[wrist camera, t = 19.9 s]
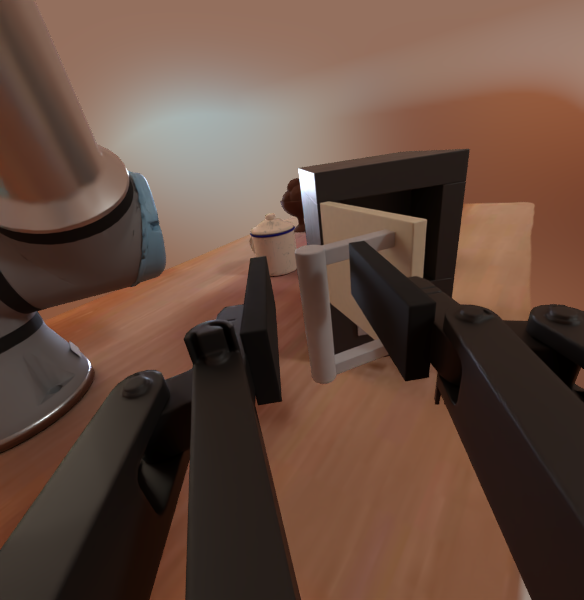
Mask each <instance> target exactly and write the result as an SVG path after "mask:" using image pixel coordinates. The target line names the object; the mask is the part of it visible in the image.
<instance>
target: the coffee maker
mask: <svg viewBox="0 0 584 600" xmlns="http://www.w3.org/2000/svg"><path fill="white" fill-rule="evenodd" d="M468 158H469V149H455V150H432V151H410V152H398V153H392V154H386V155H379V156H373V157H366V158H361V159H353V160H347V161H341V162H334V163H328V164H322V165H315V166H309V167H302V168H298V170H299V179H300V188H301V196H302V205H303V213H304V222H305V230H306V239H307V245H324V242H323V231H322V220H321V210H320V203H323V202H327V201H330V202H335V203H341V204H346V205H352V206H357V207H363V208H368V209H374V210H379V211H384V212H390V213H395V214H401V215H406V216H412V217H417V218H423V219H426V220H427V226H426V240H425V255H424V269H423V278H424V279H426V280H429V281H430V282H431V283H433V284H434V285H435V286H436V287H438V288H439V289H440V290H442V292H444V293H446V294H447V295H448V296H450V297H451V298H452V291H453V283H454V274H455V266H456V258H457V250H458V241H459V233H460V225H461V217H462V209H463V200H464V192H465V184H466V182H465V181H466V175H467V167H468ZM330 310H331V321H332V332H333V344H334V355H336V354H339V353H341V352H344V351H347V350H349V349H352V348H355V347H358V346H360V345H363V344H366V343H368V342H371V341H374V339H373V338H372V337H371V336H370V335H368V334H367V333H366V332H365V331H364V330H362V329H361V328H360V327H359V326H357V325H356V324H355V323H354V322H353V321H351V320H350V319H349V318H348V317H347V316H345V315H344V314H343V313H342V312H341V311H339V310H338V309H337V308H336V307H334V306H333V305H332V304H331V303H330ZM386 356H389V355H386ZM383 357H384V356H383Z"/></svg>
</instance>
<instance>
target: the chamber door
mask: <svg viewBox="0 0 584 600" xmlns="http://www.w3.org/2000/svg"><path fill="white" fill-rule="evenodd" d="M320 210H321V220H322V231H323V242H324V245H306V246H302V247H300V248H298V249H296V250H295V258H296V265H297V272H298V280H299V287H300V294H301V301H302V308H303V315H304V323H305V330H306V337H307V344H308V351H309V358H310V366H311V373H312V378H313V379H314V381H316V382H317V383H320V384H327V383H330V382H332V381H333V380H334V379H335V377H336V375H337V374H340V373H342V372H345V371H347V370H350V369H353V368H355V367H358V366H360V365H363V364H365V363H368V362H371V361H373V360H376V359H378V358H381V357H383V356H386V355H389V354H388V352H387V351H386V349H385V348H384V346H383V344H382V343H381V341H380V339H379V338H378V336H377V335H376V333H375V331H374V330H373V328H372V327H371V325H370V323H369V322H368V320H367V319H366V317H365V315H364V314H363V312H362V310H361V309H360V307H359V306H358V304H357V302H356V301H355V299H354V298H353V296H352V294H351V281H350V260H349V243H352V242H358V241H365V242H367V243H368V244H369V245H370V246H371V247H372V248H374V249H375V250H376V251H377V252H378V253H379V254H381V255H382V256H383V257H384V258H385V259H386V260H388V261H389V262H390V263H391V264H392V265H393V266H395V267H396V268H397V269H398V270H399V271H400V272H402V273H403V274H404V275H405V276H406V277H413V276H418V277H421V278H423V269H424V255H425V240H426V226H427V220H426V219H423V218H417V217H412V216H406V215H401V214H395V213H390V212H384V211H379V210H374V209H368V208H363V207H357V206H352V205H346V204H341V203H335V202H330V201H327V202H323V203H320ZM330 303H331V304H332V305H333V306H334V307H336V308H337V309H338V310H339V311H341V312H342V313H343V314H344V315H345V316H347V317H348V318H349V319H350V320H351V321H353V322H354V323H355V324H356V325H357V326H359V327H360V328H361V329H362V330H364V331H365V332H366V333H367V334H368V335H370V336H371V337H372V338H373V339H374V341H371V342H368V343H366V344H363V345H360V346H358V347H355V348H352V349H349V350H347V351H344V352H341V353H339V354H336V355H334V344H333V332H332V321H331V310H330Z"/></svg>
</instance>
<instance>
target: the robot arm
mask: <svg viewBox="0 0 584 600" xmlns="http://www.w3.org/2000/svg"><path fill="white" fill-rule="evenodd" d="M349 260H350V281H351V294H352V296H353V298H354V299H355V301H356V302H357V304H358V306H359V307H360V309H361V310H362V312H363V314H364V315H365V317H366V319H367V320H368V322H369V323H370V325H371V327H372V328H373V330H374V331H375V333H376V335H377V336H378V338H379V339H380V341H381V343H382V344H383V346H384V348H385V349H386V351H387V352H388V354H389V356H390V357H391V359H392V360H393V362H394V364H395V365H396V367H397V368H398V370H399V372H400V373H401V375H402V377H403V378H404V380H405V381H410V380H416V379H422V378H428V377H429V369H430V363H431V364H432V365H433V367H434V368H435V369H436V370H437V372H438V373H437V382H436V390H435V398H434V399H435V404H439V401H440V396H441V395H442V398H443V400H444V404H445V405H446V407H447V409H448V411H449V414H450V416H451V418H452V420H453V423H454V425H455V427H456V429H457V432H458V434H459V436H460V439H461V441H462V443H463V445H464V448H465V450H466V452H467V454H468V457H469V459H470V461H471V463H472V466H473V468H474V470H475V473H476V475H477V477H478V479H479V482H480V484H481V486H482V488H483V491H484V493H485V495H486V497H487V500H488V502H489V504H490V506H491V509H492V511H493V513H494V516H495V518H496V520H497V522H498V525H499V527H500V529H501V531H502V534H503V536H504V538H505V540H506V543H507V545H508V547H509V550H510V552H511V554H512V556H513V559H514V561H515V563H516V565H517V568H518V570H519V572H520V574H521V577H522V579H523V581H524V584H525V586H526V588H527V590H528V592H529V595H530V597H531V599H532V600H584V389H583V388H581V387H579V386H577V385H576V384H575V381H576V379H577V376H578V374H579V371H580V369H581V367H582V368H583V369H584V311H581V310H578V309H575V308H571V307H567V306H565V305H556V304H550V305H541V306H537V307H535V308H533V309H532V310H531V312H530V316H529V319H528V321H504V320H502V319H501V318H500V317H499V316H498V315H497V314H495V313H494V312H493V311H491V310H489V309H486V308H484V307H480V306H475V305H460V304H459V303H457V302H456V301H455V300H453V299H452V298H451V297H450V296H448V295H447V294H446V293H444V292H442V290H440V289H439V288H438V287H436V286H435V285H434V284H433V283H431V282H430V281H429V280H426V279H424V278H421V277H418V276H413V277H406V276H405V275H404V274H403V273H402V272H400V271H399V270H398V269H397V268H396V267H395V266H393V265H392V264H391V263H390V262H389V261H388V260H386V259H385V258H384V257H383V256H382V255H381V254H379V253H378V252H377V251H376V250H375V249H374V248H372V247H371V246H370V245H369V244H368V243H367V242H365V241H358V242H352V243H349ZM165 265H166V254H165V247H164V241H163V236H162V231H161V229H160V226H159V220H158V214H157V210H156V207H155V203H154V200H153V197H152V194H151V191H150V188H149V186H148V183H147V181H146V179H145V178H144V176H143V175H141V174H140V173H133V172H130V171H127V169H126V167H125V165H124V163H123V162H122V161H121V159H119V157H118V156H117V155H115V154H114V153H113V152H111V151H110V150H108V149H106V148H104V147H102V146H100V145H97V143H96V140H95V138H94V136H93V133H92V131H91V129H90V126H89V124H88V122H87V120H86V117H85V115H84V113H83V110H82V108H81V106H80V103H79V101H78V99H77V96H76V94H75V92H74V89H73V87H72V85H71V82H70V80H69V78H68V75H67V73H66V71H65V68H64V66H63V64H62V62H61V59H60V57H59V55H58V52H57V50H56V48H55V45H54V43H53V41H52V38H51V36H50V34H49V31H48V29H47V27H46V24H45V22H44V20H43V17H42V15H41V13H40V11H39V8H38V6H37V3H36V1H35V0H0V453H1V452H3V451H6V450H8V449H10V448H12V447H14V446H16V445H18V444H20V443H22V442H24V441H25V440H27V439H29V438H31V437H32V436H34V435H36V434H37V433H39V432H41V431H42V430H44V429H45V428H47V427H48V426H50V425H51V424H52V423H54V422H55V421H57V420H58V419H59V418H60V417H62V416H63V415H64V414H65V413H67V412H68V411H69V410H70V409H71V408H72V407H73V406H74V405H75V404H76V403H77V402H78V401H79V400H80V399H81V398H82V397H83V396H84V395H85V393H86V392H87V391H88V389H89V388H90V386H91V384H92V382H93V379H94V370H93V368H92V366H91V364H90V362H89V361H88V359H87V358H86V357H85V356H84V355H83V354H82V353H81V352H80V350H79V348H78V347H77V346H76V345H74V344H73V343H72V342H70V341H69V343H68V342H67V341H66V340H64V339H63V338H62V337H61V336H59V335H58V334H57V333H55V332H54V331H53V330H52V329H50V328H49V327H48V326H47V325H46V324H45V322H44V321H43V320H42V318H41V316H40V315H39V313H38V311H39V310H43V309H46V308H50V307H54V306H58V305H61V304H65V303H69V302H73V301H77V300H81V299H84V298H88V297H92V296H96V295H100V294H103V293H107V292H111V291H115V290H119V289H123V288H126V287H133V286H136V285H138V284H139V283H140V282H143V281H146V280H149V279H152V278H155V277H158V276H159V275H160V274H161V273H162V272H163V271H164V269H165ZM184 341H185V344H186V347H187V349H188V352H189V355H190V357H191V360H192V363H193V368H192V369H190V370H189V371H187V372H184V373H182V374H180V375H177V376H174V377H172V378H169V379H166V380H165V379H164V377H163V375H162V373H161V372H159V371H156V370H146V371H142V372H138V373H135V374H133V375H130V376H129V377H127V378H126V379H124V380H123V381H121V382H120V383H118V384H117V385H116V387H115V388H114V389H113V390H112V391H111V392H110V394H109V395H108V397H107V398H106V399H105V401H104V402H103V404H102V405H101V407H100V408H99V409H98V411H97V412H96V414H95V415H94V417H93V418H92V419H91V421H90V422H89V424H88V425H87V427H86V428H85V429H84V431H83V432H82V434H81V435H80V437H79V438H78V439H77V441H76V442H75V444H74V445H73V447H72V448H71V449H70V451H69V452H68V454H67V455H66V457H65V458H64V459H63V461H62V462H61V464H60V465H59V467H58V468H57V469H56V471H55V472H54V474H53V475H52V477H51V478H50V479H49V481H48V482H47V484H46V485H45V487H44V488H43V489H42V491H41V492H40V494H39V495H38V497H37V498H36V499H35V501H34V502H33V504H32V505H31V507H30V508H29V509H28V511H27V512H26V514H25V515H24V517H23V518H22V519H21V521H20V522H19V524H18V525H17V527H16V528H15V530H14V531H13V532H12V534H11V535H10V537H9V538H8V540H7V541H6V542H5V544H4V545H3V547H2V548H1V550H0V600H149V599H150V595H151V592H152V588H153V585H154V581H155V578H156V574H157V571H158V568H159V564H160V561H161V557H162V554H163V550H164V547H165V543H166V540H167V536H168V533H169V529H170V526H171V522H172V519H173V515H174V512H175V508H176V505H177V501H178V498H179V494H180V491H181V487H182V484H183V481H184V477H185V474H186V470H187V467H188V463H189V460H190V471H189V502H188V533H187V565H186V596H185V600H301V598H300V594H299V589H298V585H297V581H296V577H295V572H294V568H293V564H292V560H291V555H290V551H289V547H288V543H287V538H286V534H285V530H284V525H283V521H282V517H281V513H280V508H279V504H278V500H277V496H276V491H275V487H274V483H273V478H272V474H271V470H270V466H269V461H268V457H267V453H266V449H265V444H264V440H263V436H262V432H261V427H260V423H259V419H258V415H257V411H256V407H255V395H256V399H257V403H258V405H263V404H269V403H275V402H281V401H282V397H281V382H280V367H279V352H278V337H277V322H276V307H275V301H274V295H273V290H272V285H271V279H270V274H269V268H268V263H267V257H266V256H262V257H256V258H251V259H250V265H249V272H248V279H247V286H246V293H245V300H244V304H242V305H236V306H230V307H225V308H224V309H223V310H222V311H221V312H220V313H219V314H218V315H217V319H216V320H211V321H207V322H204V323H201V324H199V325H197V326H195V327H194V328H192V329H191V330H190V331H189V332H188V333H186V335H185V338H184Z"/></svg>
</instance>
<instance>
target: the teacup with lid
mask: <svg viewBox="0 0 584 600" xmlns="http://www.w3.org/2000/svg"><path fill="white" fill-rule="evenodd" d="M265 219H266V220H263V221H262V222H261V223H260V224H259V225H258V226H255V227H254V228H252V229H251V233H250V235H251V237H250V240H249V242H250V246H251V249H252V251H253V252H254V253H255V254H256V257H262V256H266V257H267V263H268V268H269V274H270V276H280V275H285V274H288V273H291V272H293V271H294V270H296V269H297V265H296V258H295V250H296V242H295V235H294V228H295V226H294V224H293V223H292V222H289V221H284V220H282V219H279V218H275V214H273V213H270V214H267V215H265Z"/></svg>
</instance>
